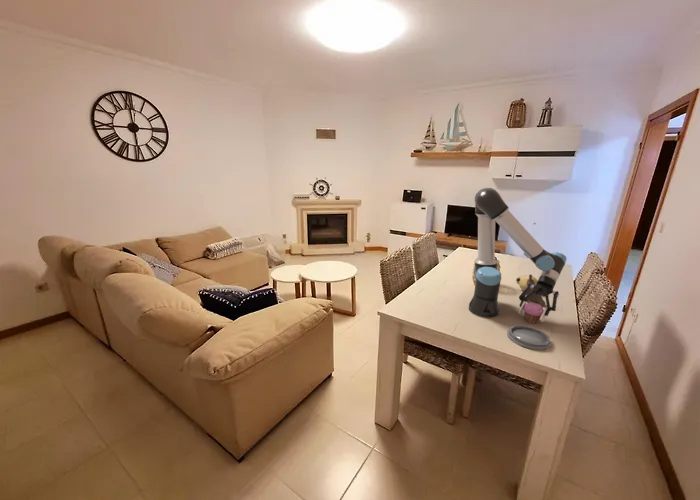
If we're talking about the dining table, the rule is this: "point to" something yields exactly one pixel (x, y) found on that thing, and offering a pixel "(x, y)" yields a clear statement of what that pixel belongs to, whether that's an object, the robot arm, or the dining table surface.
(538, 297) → the worn brown figurine
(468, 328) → the dining table surface
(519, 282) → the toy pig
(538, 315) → the cupcake
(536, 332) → the slate plate
